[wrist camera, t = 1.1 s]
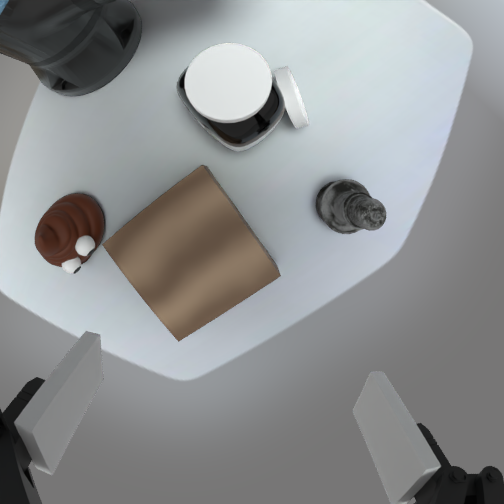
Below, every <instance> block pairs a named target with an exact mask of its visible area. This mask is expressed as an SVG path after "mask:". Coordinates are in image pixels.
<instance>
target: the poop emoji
mask: <svg viewBox="0 0 504 504" xmlns="http://www.w3.org/2000/svg"><path fill="white" fill-rule="evenodd" d="M103 233H104V217H103V213H102V211H101V209H100V207H99V205H98V204H97V203H96V202H95V200H93V199H92V198H91V197H89V196H87V195H85V194H80V193H75V194H70V195H67V196H64V197H62V198H61V199H59V200H58V201H56V202H55V203H54V204H53V205H52V206H51V207H50V208H49V209H48V211H47V212H46V213H45V214H44V215H43V217H42V218H41V220H40V222H39V224H38V226H37V229H36V232H35V246H36V248H37V250H38V251H39V253H40V254H41V255H42V256H43V258H44V259H45V260H46V261H47V262H49V263H50V264H52V265H55V266H59V267H63V269H64V270H65V271H66V272H67V273H70V274H72V273H76V272H78V271H79V270H80V268H81V264H83V263H85V262H86V261H87V260H88V259H89V257H90V256H91V254H92V253H93V252H94V251H95V250H96V249H97V247H98V246H99V244H100V242H101V239H102V237H103Z"/></svg>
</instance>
